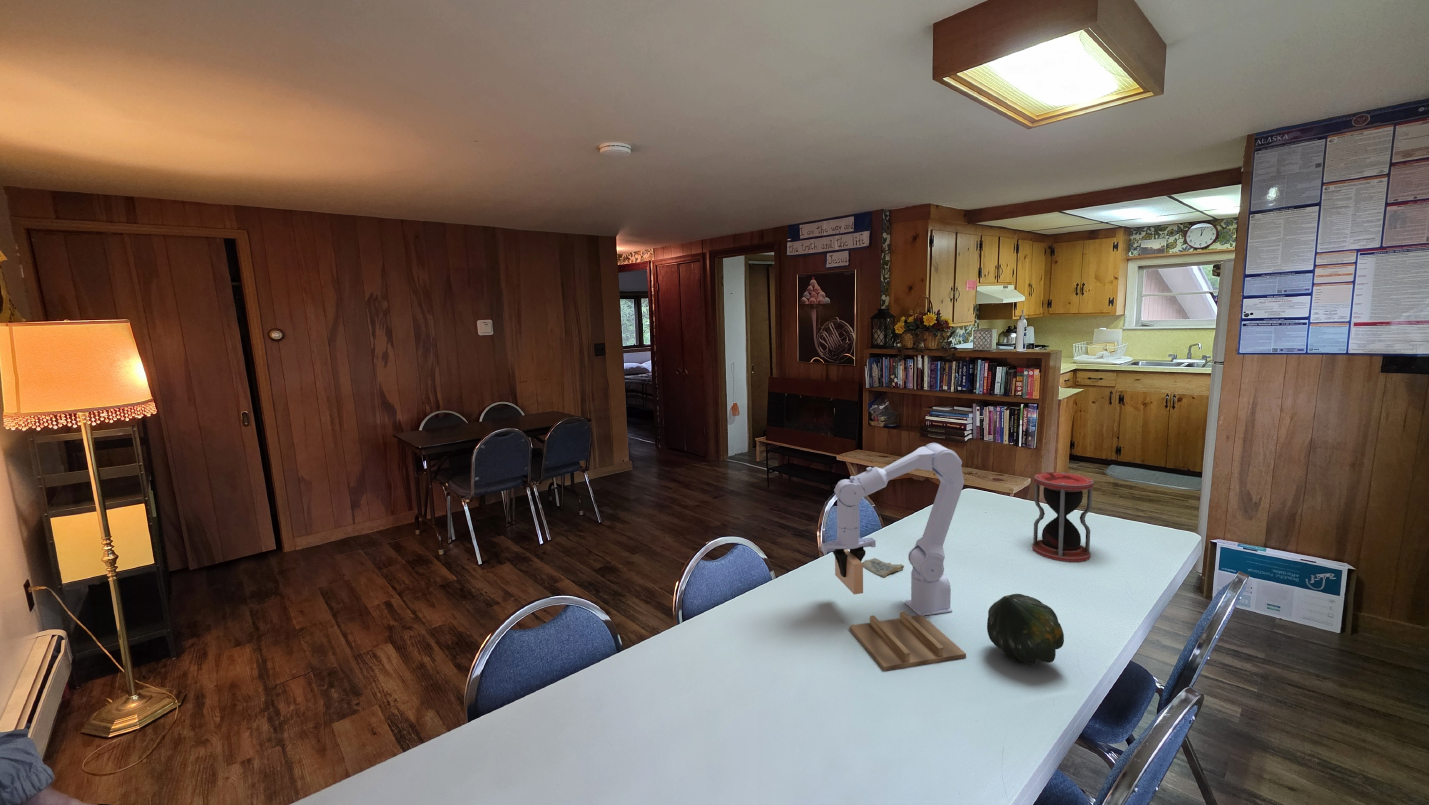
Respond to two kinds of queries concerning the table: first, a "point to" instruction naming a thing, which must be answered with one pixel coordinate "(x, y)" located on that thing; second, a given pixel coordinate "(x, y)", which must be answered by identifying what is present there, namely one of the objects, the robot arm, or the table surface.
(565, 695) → the table surface
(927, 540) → the robot arm
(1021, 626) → the squash
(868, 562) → the ceramic fragment
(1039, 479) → the hourglass
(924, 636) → the ribbed wooden panel
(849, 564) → the clay block
